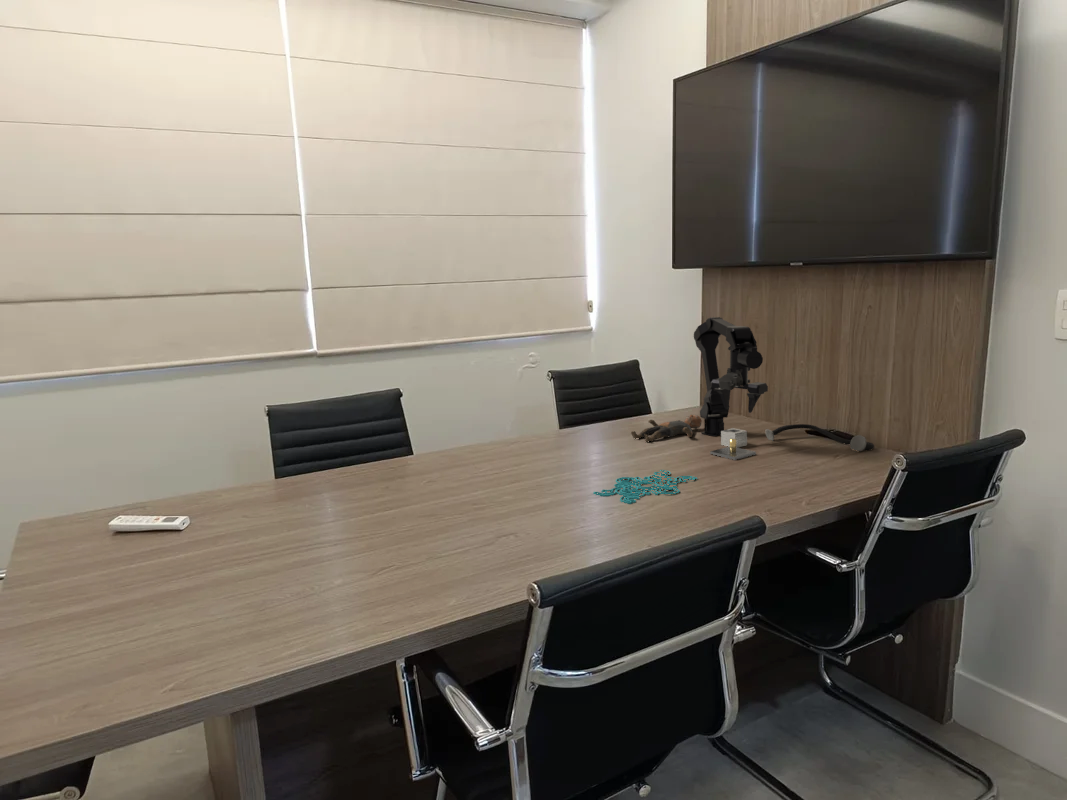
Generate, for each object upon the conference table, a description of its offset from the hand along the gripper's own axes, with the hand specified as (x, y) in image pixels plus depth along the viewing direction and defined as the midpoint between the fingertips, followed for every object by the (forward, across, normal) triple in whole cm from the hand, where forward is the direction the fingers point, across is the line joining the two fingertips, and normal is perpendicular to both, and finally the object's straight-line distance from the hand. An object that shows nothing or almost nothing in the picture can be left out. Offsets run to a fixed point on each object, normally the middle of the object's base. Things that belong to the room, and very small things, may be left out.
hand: (738, 410), depth 231 cm
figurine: (+13, -27, -2) cm, 30 cm away
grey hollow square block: (+12, -1, -1) cm, 12 cm away
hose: (+12, +19, +19) cm, 30 cm away
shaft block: (+12, +6, -12) cm, 18 cm away
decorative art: (+12, +9, -56) cm, 58 cm away
